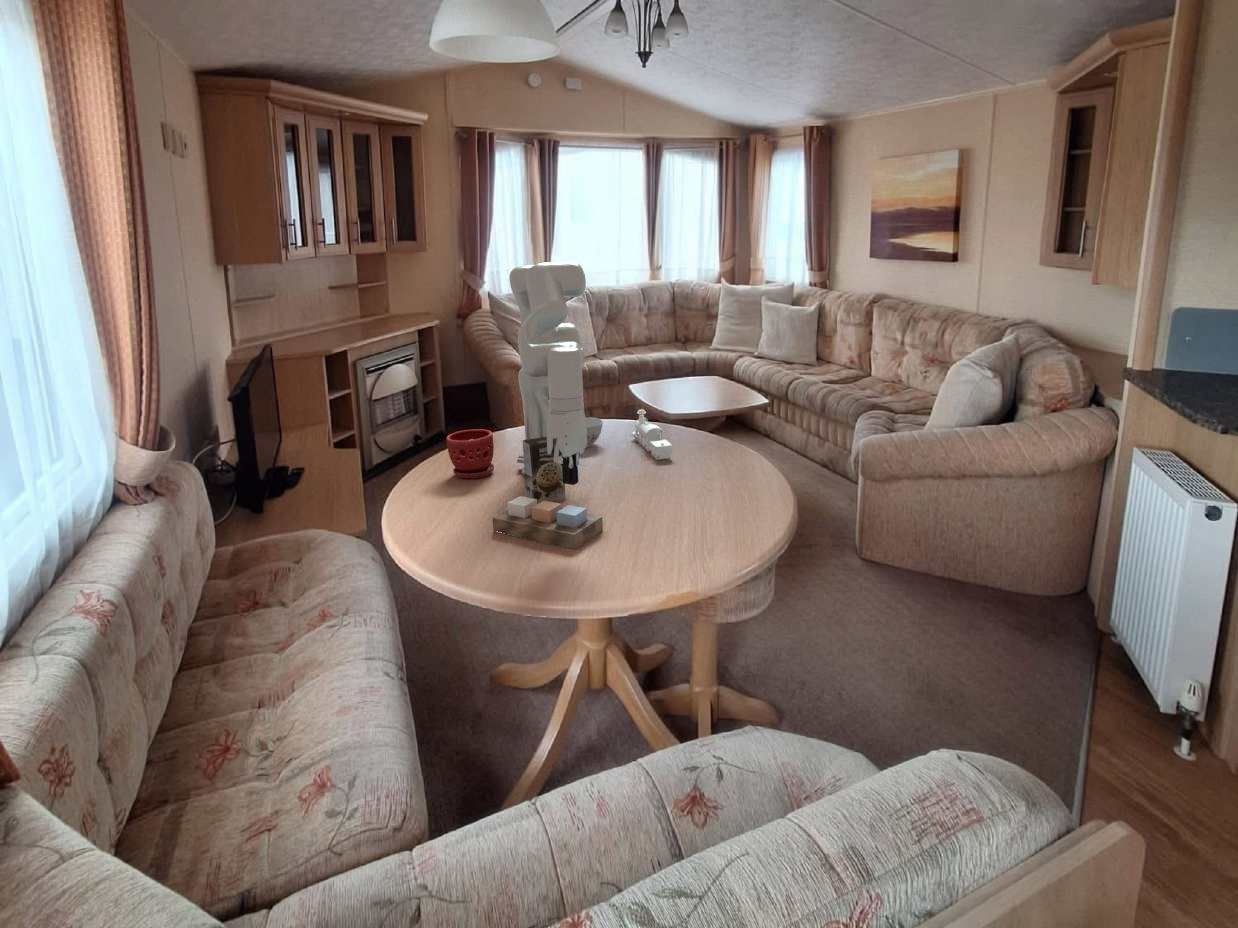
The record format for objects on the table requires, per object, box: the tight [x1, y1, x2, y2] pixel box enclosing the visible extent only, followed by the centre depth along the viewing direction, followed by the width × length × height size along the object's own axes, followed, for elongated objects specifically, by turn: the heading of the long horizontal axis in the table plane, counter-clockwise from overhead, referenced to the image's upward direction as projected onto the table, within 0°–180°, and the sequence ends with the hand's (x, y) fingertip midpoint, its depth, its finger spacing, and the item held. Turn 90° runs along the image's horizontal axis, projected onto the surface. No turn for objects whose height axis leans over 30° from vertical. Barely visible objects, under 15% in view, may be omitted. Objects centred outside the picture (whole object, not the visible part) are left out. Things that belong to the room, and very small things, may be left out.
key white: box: [506, 495, 537, 518], centre depth 193 cm, size 5×5×4 cm
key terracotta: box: [531, 501, 563, 523], centre depth 190 cm, size 5×5×4 cm
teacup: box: [585, 416, 604, 448], centre depth 259 cm, size 15×12×8 cm
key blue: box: [556, 504, 588, 528], centre depth 187 cm, size 5×5×4 cm
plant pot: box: [445, 428, 495, 479], centre depth 232 cm, size 13×13×12 cm
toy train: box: [631, 409, 673, 461], centre depth 253 cm, size 6×30×10 cm, turn 15°
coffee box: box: [522, 437, 567, 504], centre depth 210 cm, size 9×6×16 cm
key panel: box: [491, 509, 604, 550], centre depth 191 cm, size 23×12×4 cm, turn 60°
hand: (570, 483), depth 184 cm, fingers closed
